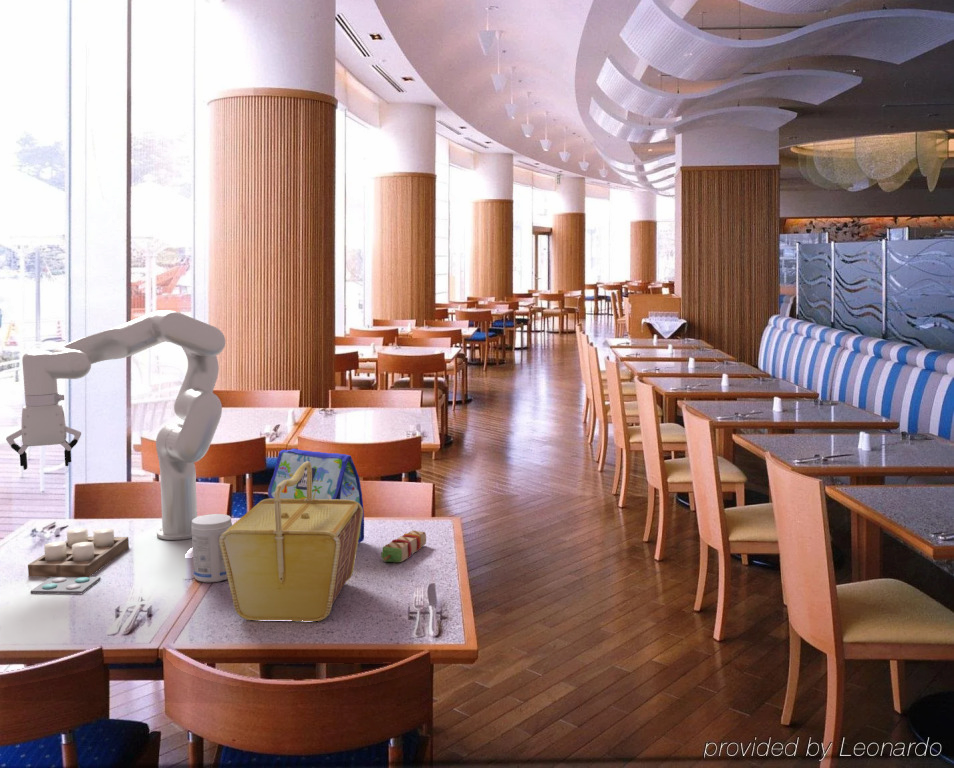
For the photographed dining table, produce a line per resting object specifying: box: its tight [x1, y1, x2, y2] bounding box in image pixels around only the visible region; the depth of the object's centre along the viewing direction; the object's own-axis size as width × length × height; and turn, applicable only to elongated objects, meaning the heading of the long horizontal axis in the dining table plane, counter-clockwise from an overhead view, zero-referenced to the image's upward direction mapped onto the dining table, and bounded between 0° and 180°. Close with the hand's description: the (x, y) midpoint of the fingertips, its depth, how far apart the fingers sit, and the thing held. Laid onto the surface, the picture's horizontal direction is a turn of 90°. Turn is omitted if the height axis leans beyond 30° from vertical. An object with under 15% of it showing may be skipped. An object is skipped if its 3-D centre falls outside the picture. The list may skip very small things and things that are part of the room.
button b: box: [66, 527, 89, 547], centre depth 241 cm, size 5×5×4 cm
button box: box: [27, 536, 130, 578], centre depth 235 cm, size 15×24×3 cm, turn 179°
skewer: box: [380, 530, 427, 563], centre depth 240 cm, size 21×6×5 cm, turn 159°
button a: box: [92, 528, 115, 547], centre depth 241 cm, size 5×5×4 cm
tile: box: [30, 576, 102, 594], centre depth 217 cm, size 12×10×1 cm
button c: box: [72, 542, 94, 561], centre depth 229 cm, size 5×5×4 cm
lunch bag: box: [267, 448, 365, 544], centre depth 248 cm, size 22×17×26 cm
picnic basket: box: [219, 461, 364, 622], centre depth 205 cm, size 29×26×30 cm
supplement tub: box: [191, 513, 233, 583], centre depth 223 cm, size 10×10×15 cm
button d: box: [43, 541, 67, 561], centre depth 229 cm, size 5×5×4 cm
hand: (46, 467), depth 233 cm, fingers open, 9 cm apart
